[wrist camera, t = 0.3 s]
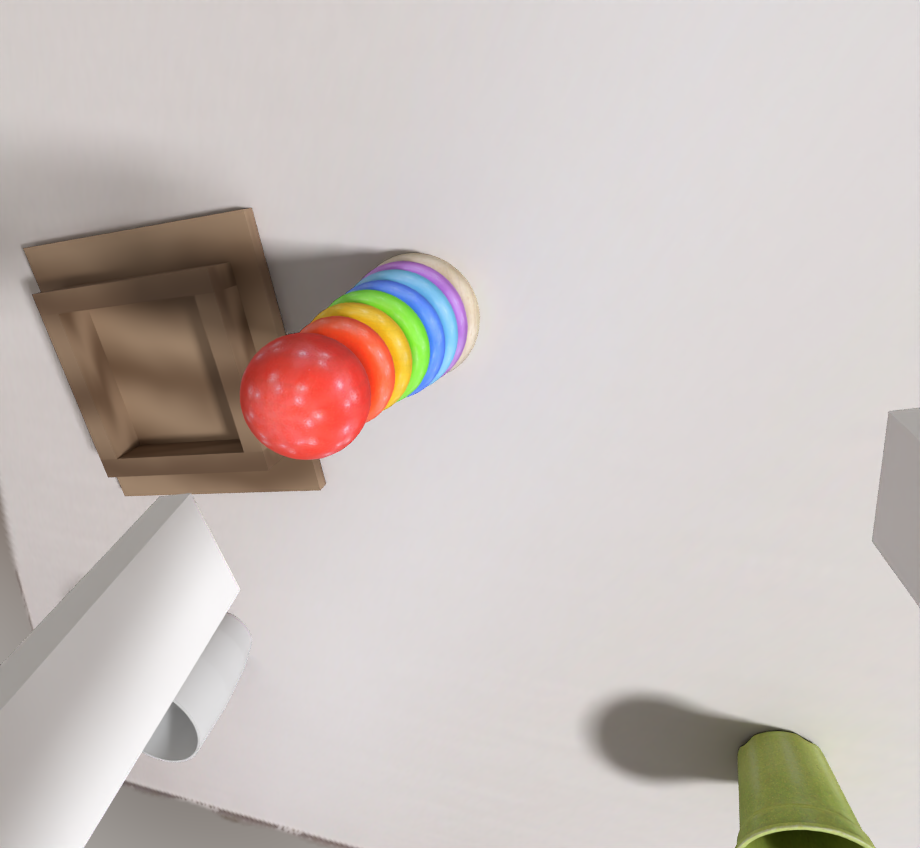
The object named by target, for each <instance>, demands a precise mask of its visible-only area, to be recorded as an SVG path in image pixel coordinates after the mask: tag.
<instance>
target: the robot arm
mask: <svg viewBox="0 0 920 848" xmlns="http://www.w3.org/2000/svg"><path fill="white" fill-rule="evenodd" d="M872 542H873V544H874V545H875V546H876V548H877V549H878V550H879V552H880V553H881V555H882V556H883V557H884V559H885V560H886V562H887V563H888V564H889V566H890V567H891V569H892V570H893V571H894V573H895V574H896V575H897V577H898V578H899V580H900V581H901V582H902V584H903V585H904V587H905V588H906V589H907V591H908V592H909V594H910V595H911V596H912V598H913V599H914V600H915V602H916V603H917V605H918V606H919V607H920V408H912V409H904V410H895V411H889V412H888V420H887V428H886V436H885V443H884V451H883V459H882V466H881V474H880V482H879V490H878V497H877V505H876V513H875V521H874V528H873V536H872ZM239 591H240V588H239V586H238V584H237V582H236V580H235V578H234V577H233V575H232V573H231V571H230V569H229V567H228V565H227V563H226V561H225V559H224V557H223V555H222V553H221V551H220V549H219V547H218V545H217V543H216V541H215V539H214V537H213V535H212V533H211V531H210V529H209V527H208V525H207V523H206V521H205V519H204V517H203V516H202V514H201V512H200V510H199V508H198V506H197V504H196V502H195V500H194V498H193V496H192V494H191V493H186V494H177V495H169V496H160V497H159V498H158V499H157V500H156V501H155V502H154V503H153V504H152V505H151V506H150V507H149V508H148V509H147V510H146V511H145V512H144V514H143V515H142V516H141V517H140V518H139V519H138V520H137V521H136V522H135V523H134V524H133V525H132V526H131V527H130V528H129V529H128V530H127V532H126V533H125V534H124V535H123V536H122V537H121V538H120V539H119V540H118V541H117V542H116V543H115V544H114V545H113V546H112V547H111V548H110V550H109V551H108V552H107V553H106V554H105V555H104V556H103V557H102V558H101V559H100V560H99V561H98V562H97V563H96V564H95V565H94V566H93V568H92V569H91V570H90V571H89V572H88V573H87V574H86V575H85V576H84V577H83V578H82V579H81V580H80V581H79V582H78V583H77V584H76V586H75V587H74V588H73V589H72V590H71V591H70V592H69V593H68V594H67V595H66V596H65V597H64V598H63V599H62V600H61V601H60V603H59V604H58V605H57V606H56V607H55V608H54V609H53V610H52V611H51V612H50V613H49V614H48V615H47V616H46V617H45V618H44V619H43V621H42V622H41V623H40V624H39V625H38V626H37V627H36V628H35V629H34V630H33V631H32V632H31V633H30V635H28V636H27V637H26V639H25V640H24V641H23V642H22V643H21V644H20V645H19V646H18V647H17V648H16V649H15V650H14V651H13V652H12V653H11V654H10V656H9V657H8V658H7V659H6V660H5V661H4V662H3V663H2V664H1V665H0V848H84V846H85V845H86V843H87V841H88V840H89V838H90V837H91V835H92V833H93V832H94V830H95V828H96V826H97V825H98V823H99V821H100V820H101V818H102V817H103V815H104V813H105V812H106V810H107V808H108V807H109V805H110V804H111V802H112V800H113V799H114V797H115V795H116V794H117V792H118V790H119V789H120V787H121V785H122V784H123V782H124V781H125V779H126V777H127V776H128V774H129V772H130V771H131V769H132V767H133V766H134V764H135V762H136V761H137V759H138V757H139V756H140V754H141V753H142V751H143V749H144V748H145V746H146V744H147V743H148V741H149V739H150V738H151V736H152V734H153V733H154V731H155V730H156V728H157V726H158V725H159V723H160V721H161V720H162V718H163V716H164V715H165V713H166V711H167V710H168V708H169V706H170V705H171V703H172V702H173V700H174V698H175V697H176V695H177V693H178V692H179V690H180V688H181V687H182V685H183V683H184V682H185V680H186V678H187V677H188V675H189V674H190V672H191V670H192V669H193V667H194V665H195V664H196V662H197V660H198V659H199V657H200V655H201V654H202V652H203V651H204V649H205V647H206V646H207V644H208V642H209V641H210V639H211V637H212V636H213V634H214V632H215V631H216V629H217V627H218V626H219V624H220V623H221V621H222V619H223V618H224V616H225V614H226V613H227V611H228V609H229V608H230V606H231V604H232V603H233V601H234V599H235V598H236V596H237V595H238V593H239Z"/></svg>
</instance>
